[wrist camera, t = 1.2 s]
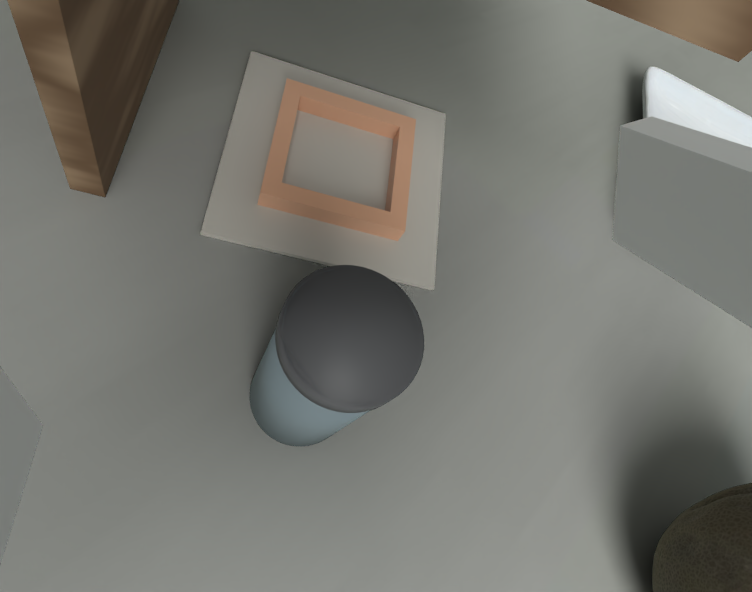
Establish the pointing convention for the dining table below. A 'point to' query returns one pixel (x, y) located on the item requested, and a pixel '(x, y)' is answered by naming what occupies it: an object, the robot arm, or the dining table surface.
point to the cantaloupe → (708, 546)
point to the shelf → (146, 36)
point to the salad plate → (692, 108)
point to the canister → (335, 354)
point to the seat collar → (330, 174)
